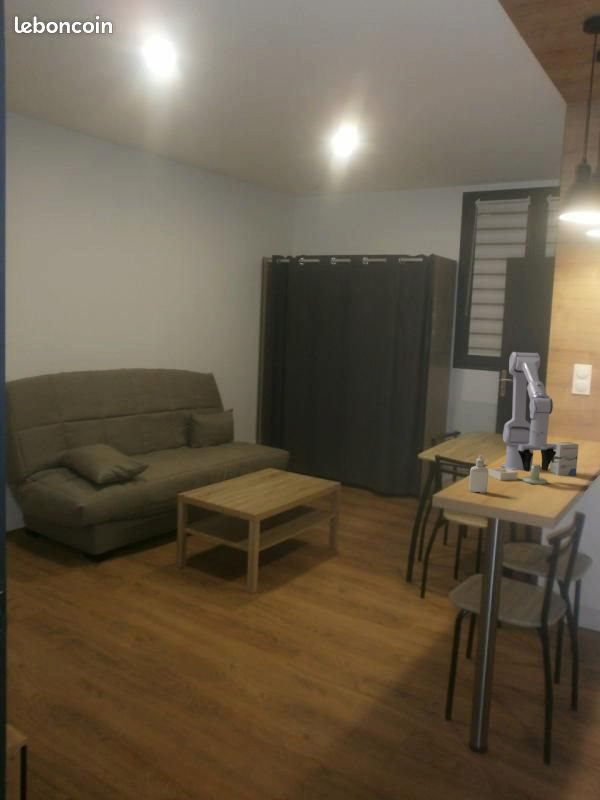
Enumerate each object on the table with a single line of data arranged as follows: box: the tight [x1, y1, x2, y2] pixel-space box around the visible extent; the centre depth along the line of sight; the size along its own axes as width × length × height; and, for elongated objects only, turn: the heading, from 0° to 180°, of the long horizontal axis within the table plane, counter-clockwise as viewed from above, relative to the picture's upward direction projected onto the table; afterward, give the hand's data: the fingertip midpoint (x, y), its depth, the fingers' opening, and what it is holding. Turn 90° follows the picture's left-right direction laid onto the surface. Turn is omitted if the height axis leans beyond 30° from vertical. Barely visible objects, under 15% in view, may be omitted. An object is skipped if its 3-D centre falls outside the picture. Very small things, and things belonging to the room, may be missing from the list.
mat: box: [517, 478, 552, 486], centre depth 230 cm, size 8×8×1 cm
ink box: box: [549, 441, 580, 476], centre depth 244 cm, size 8×5×12 cm, turn 111°
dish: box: [488, 467, 519, 481], centre depth 234 cm, size 7×7×3 cm
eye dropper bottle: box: [468, 454, 489, 494], centre depth 214 cm, size 4×6×12 cm
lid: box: [521, 463, 548, 485], centre depth 230 cm, size 8×8×6 cm
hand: (535, 470), depth 229 cm, fingers open, 7 cm apart
